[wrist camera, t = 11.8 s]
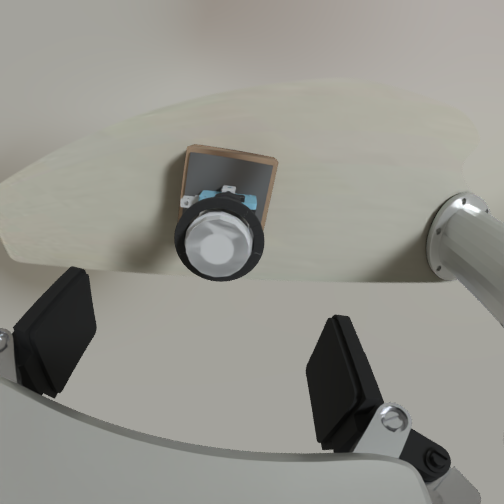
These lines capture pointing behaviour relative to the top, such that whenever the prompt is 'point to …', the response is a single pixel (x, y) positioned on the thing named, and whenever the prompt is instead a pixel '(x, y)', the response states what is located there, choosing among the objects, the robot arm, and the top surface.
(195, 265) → the push button
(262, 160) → the stand
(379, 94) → the top surface
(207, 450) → the robot arm
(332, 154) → the top surface
